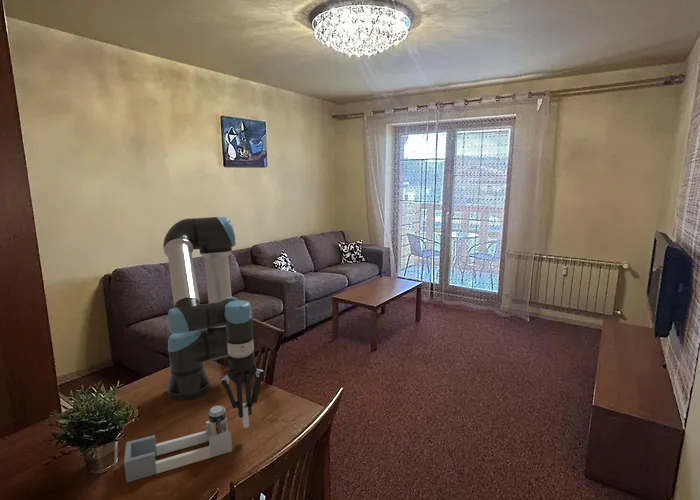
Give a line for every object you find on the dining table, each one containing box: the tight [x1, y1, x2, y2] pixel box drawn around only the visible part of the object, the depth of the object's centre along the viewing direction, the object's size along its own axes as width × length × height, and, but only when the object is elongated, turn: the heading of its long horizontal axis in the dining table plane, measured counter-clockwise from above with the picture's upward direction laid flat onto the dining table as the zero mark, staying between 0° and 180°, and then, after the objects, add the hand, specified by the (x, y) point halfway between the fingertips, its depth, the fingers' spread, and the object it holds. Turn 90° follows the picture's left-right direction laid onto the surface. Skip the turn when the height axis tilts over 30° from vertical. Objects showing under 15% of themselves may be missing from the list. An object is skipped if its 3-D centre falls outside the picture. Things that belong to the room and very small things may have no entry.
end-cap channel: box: [123, 416, 233, 484], centre depth 112 cm, size 9×27×6 cm, turn 116°
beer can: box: [208, 404, 228, 436], centre depth 116 cm, size 5×5×12 cm
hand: (245, 425), depth 120 cm, fingers closed
